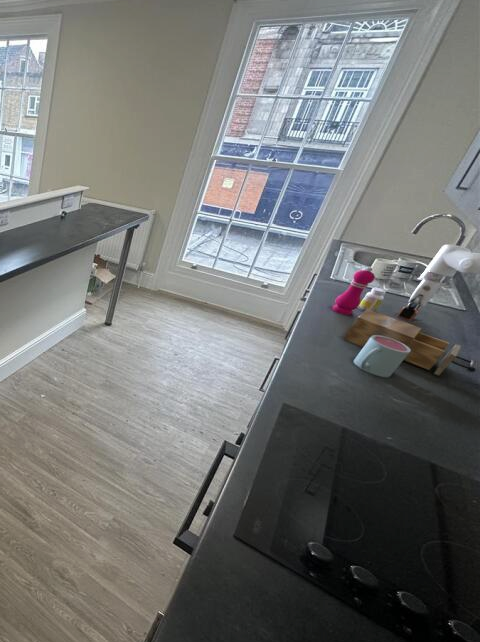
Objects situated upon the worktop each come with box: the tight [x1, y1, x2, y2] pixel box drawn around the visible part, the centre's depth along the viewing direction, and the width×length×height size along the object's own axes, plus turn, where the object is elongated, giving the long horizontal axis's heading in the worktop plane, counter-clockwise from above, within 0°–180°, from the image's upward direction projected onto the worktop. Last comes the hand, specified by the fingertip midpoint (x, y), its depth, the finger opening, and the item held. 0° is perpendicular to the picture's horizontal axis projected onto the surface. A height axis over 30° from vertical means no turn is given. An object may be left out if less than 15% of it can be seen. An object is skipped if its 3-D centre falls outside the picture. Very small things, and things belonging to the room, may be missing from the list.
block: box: [396, 305, 420, 322], centre depth 162 cm, size 4×4×4 cm
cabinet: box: [343, 309, 422, 348], centre depth 139 cm, size 15×13×10 cm
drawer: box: [403, 331, 479, 377], centre depth 130 cm, size 19×11×8 cm, turn 36°
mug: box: [353, 335, 411, 378], centre depth 124 cm, size 14×9×10 cm
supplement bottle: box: [358, 287, 387, 312], centre depth 164 cm, size 5×5×10 cm
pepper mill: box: [331, 266, 376, 316], centre depth 158 cm, size 7×7×20 cm
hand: (406, 314), depth 163 cm, fingers open, 9 cm apart
